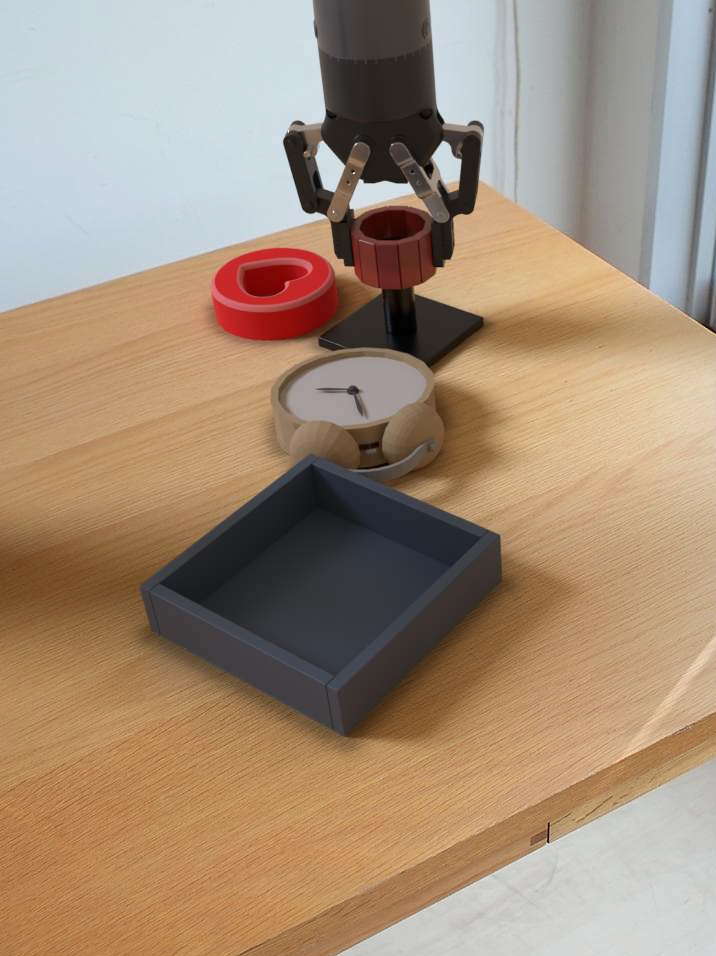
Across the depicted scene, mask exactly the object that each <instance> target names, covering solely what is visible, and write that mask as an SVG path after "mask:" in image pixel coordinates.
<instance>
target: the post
mask: <svg viewBox="0 0 716 956" xmlns="http://www.w3.org/2000/svg"><path fill="white" fill-rule="evenodd" d="M401 239H405V238H402V237H389V238H385V239H383V240H384V241H397V240H401ZM484 321H485V320H484V316H482V315H478V314H475V313H472V312H470V311H466V310H463V309H461V308H457V307H455V306H452V305H449V304H446V303H443V302H440V301H437V300H434V299H431V298H428V297H425V296H422V295H420V294H416V293H415V286H413V287H409V288H405V289H402V288H401V289H381V293H379V294H377V296H375V297H374V298H372V299H371V300H369V301H368V302H366V303H365V304H364V305H363V306H361V307H359V308H358V309H356V310H354V312H352V313H351V314H349V315H348V316H346V317H345V318H344V319H342V320H340V321H339V322H338V323H336V324H335V325H333V326H332V327H330V328H329V329H327V330H326V331H325V332H323V333H322V334H321V335H319V336H318V337H317V340H318V341H317V342H318V346H319V347H321V348H323V349H325V350H326V349H327V350H329V351H330V352H333V351H337V350H343V349H353V348H381V349H390V350H394V351H398V352H403V353H407V354H409V355H411V356H413V357H415V358H417V359H419V360H421V361H423V362H424V363H425V364H426V365H427V366H428V368H429V369H431V368H432V367H433V366H434V365H436V364H437V363H438V362H440V360H442V359H443V358H444V357H446V356H447V355H448V354H450V353H451V352H453V351H454V350H455V349H456V348H458V347H459V346H460V345H461V344H463V343H464V342H465V341H466V340H468V339H469V338H470V337H472V336H473V335H474V334H475V333H477V332H478V331H479V330H480V329H482V328H483V327H484V326H485V322H484Z"/></svg>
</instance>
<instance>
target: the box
mask: <svg viewBox="0 0 716 956" xmlns="http://www.w3.org/2000/svg"><path fill="white" fill-rule="evenodd" d="M502 570H503V565H502V542H501V534H500V533H497V532H495V531H492V530H490V529H488V528H485V527H484V526H481V525H478V524H477V523H474V522H472V521H470V520H468V519H465V518H463V517H460V516H458V515H456V514H453V513H451V512H448V511H446V510H443V509H442V508H439V507H437V506H434V505H432V504H429V503H427V502H426V501H423V500H420V499H418V498H416V497H413V496H412V495H409V494H406V493H404V492H402V491H400V490H397V489H395V488H392V487H391V486H388V485H387V484H386V485H385V484H383V483H382V482H381V483H379V482H376V481H374V480H372V479H369V478H367V477H365V476H362V475H360V474H358V473H355V472H353V471H351V470H348V469H346V468H344V467H341V466H339V465H337V464H334V463H332V462H330V461H327V460H325V459H323V458H320V457H318V456H316V455H313V454H311V453H310V454H309V455H308V456H306V457H305V458H304V459H302V460H301V461H300V462H299V463H297V464H296V465H295V466H293V465H292V467H290V468H289V469H288V470H287V471H286V472H284V473H283V474H282V475H281V476H279V477H278V478H277V479H275V480H274V481H273V482H272V483H270V484H268V485H267V486H266V487H264V489H262V490H261V491H259V492H258V493H257V494H256V495H254V496H253V497H251V499H249V500H248V501H246V503H244V504H243V505H242V506H240V507H239V508H238V509H237V510H235V511H234V512H232V513H231V514H230V515H228V516H227V517H226V518H225V519H223V520H222V521H221V522H220V523H218V524H217V525H216V526H214V527H213V528H212V529H210V530H209V531H207V532H206V533H205V534H204V535H203V536H201V537H200V538H199V539H198V540H196V541H195V542H193V543H192V544H191V545H190V546H189V547H187V548H186V549H185V550H183V551H182V552H180V553H179V555H177V556H176V557H174V558H173V559H172V560H171V561H169V562H168V563H166V564H165V565H163V566H162V567H161V568H160V569H159V570H158V571H156V572H155V573H154V574H153V575H151V576H150V577H149V578H147V579H146V580H145V581H143V582H142V583H141V584H139V591H140V594H141V598H142V601H143V606H144V609H145V612H146V616H147V619H148V623H149V627H150V630H151V632H153V633H154V634H156V635H158V636H160V637H161V638H164V639H165V640H167V641H169V642H171V643H173V644H175V645H176V646H178V647H180V648H181V649H184V650H185V651H187V652H189V653H190V654H193V655H194V656H196V657H198V658H200V659H201V660H203V661H206V662H207V663H209V664H210V665H213V666H214V667H216V668H218V669H220V670H222V671H224V673H227V674H229V675H231V676H233V677H234V678H236V679H238V680H240V681H242V682H243V683H245V684H247V685H249V686H250V687H252V688H255V689H256V690H258V691H260V692H262V693H263V694H265V695H267V696H269V697H270V698H273V699H274V700H276V701H278V702H280V703H281V704H283V705H285V706H287V707H289V708H290V709H292V710H294V711H296V712H298V713H300V714H301V715H303V716H305V717H307V718H309V719H311V720H312V721H314V722H316V723H318V724H320V725H322V726H324V727H325V728H327V729H329V730H331V731H332V732H334V733H335V734H338V735H340V737H343V738H346V737H348V735H349V734H350V733H352V731H353V730H354V729H355V728H356V727H357V726H358V725H359V724H360V723H361V722H363V720H364V719H365V718H367V716H368V715H369V714H370V713H371V712H372V711H373V710H375V708H376V707H378V705H379V704H380V703H381V702H382V701H383V700H384V699H385V698H386V697H387V696H388V695H389V694H390V693H391V692H392V691H394V689H396V687H397V686H398V685H399V684H400V683H401V682H402V681H403V680H404V679H405V678H406V677H407V676H408V675H409V674H410V673H411V672H412V671H413V670H414V669H415V668H416V667H417V666H418V665H419V664H420V663H421V662H422V661H423V660H424V659H425V658H426V657H427V656H428V655H429V654H430V653H431V652H432V651H433V650H434V649H435V648H436V647H437V646H439V644H440V643H442V641H443V640H444V639H445V638H446V637H448V635H449V634H450V633H451V632H452V631H453V630H454V629H455V628H456V627H458V625H459V624H460V623H461V622H462V621H463V620H464V619H465V618H466V617H468V615H470V613H471V612H472V611H473V610H474V609H475V608H476V607H477V606H478V605H479V604H480V603H481V602H482V601H483V600H484V599H485V598H486V597H487V596H488V595H489V594H490V593H491V592H492V591H493V590H494V589H495V588H496V587H497V586H498V585H499V584H500V583H501V582H502V581H503V571H502Z"/></svg>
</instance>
